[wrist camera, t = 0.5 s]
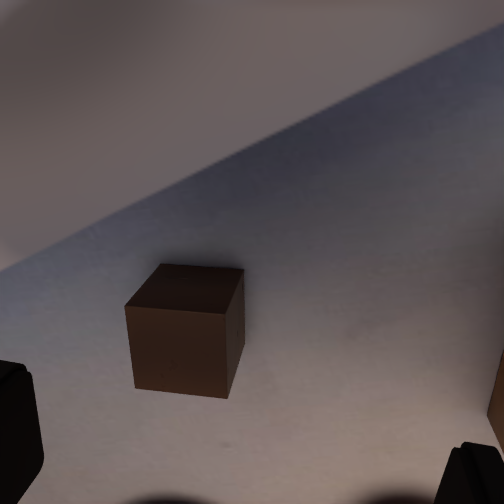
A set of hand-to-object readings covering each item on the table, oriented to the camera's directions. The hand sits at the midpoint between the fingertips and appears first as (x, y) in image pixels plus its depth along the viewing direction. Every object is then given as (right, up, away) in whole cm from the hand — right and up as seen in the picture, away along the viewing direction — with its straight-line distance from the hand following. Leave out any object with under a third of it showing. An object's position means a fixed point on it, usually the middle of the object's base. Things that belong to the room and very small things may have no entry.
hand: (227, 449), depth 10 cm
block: (-2, +1, +17) cm, 17 cm away
